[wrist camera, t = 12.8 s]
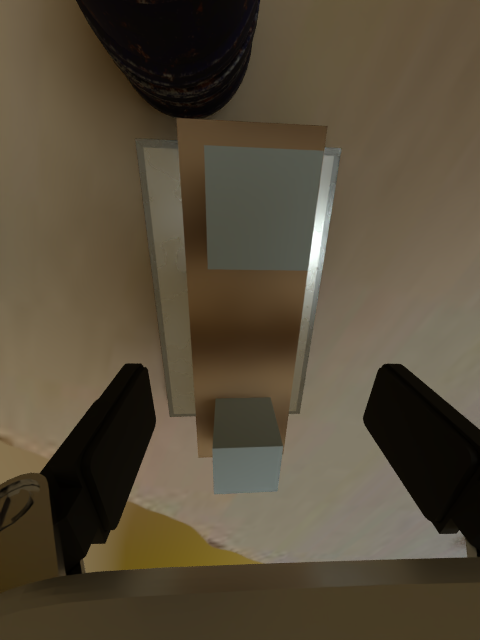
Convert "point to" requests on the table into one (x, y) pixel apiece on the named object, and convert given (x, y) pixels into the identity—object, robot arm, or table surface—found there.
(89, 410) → the robot arm
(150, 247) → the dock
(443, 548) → the table surface
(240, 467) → the block
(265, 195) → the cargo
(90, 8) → the storage jar
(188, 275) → the wooden block carrier
